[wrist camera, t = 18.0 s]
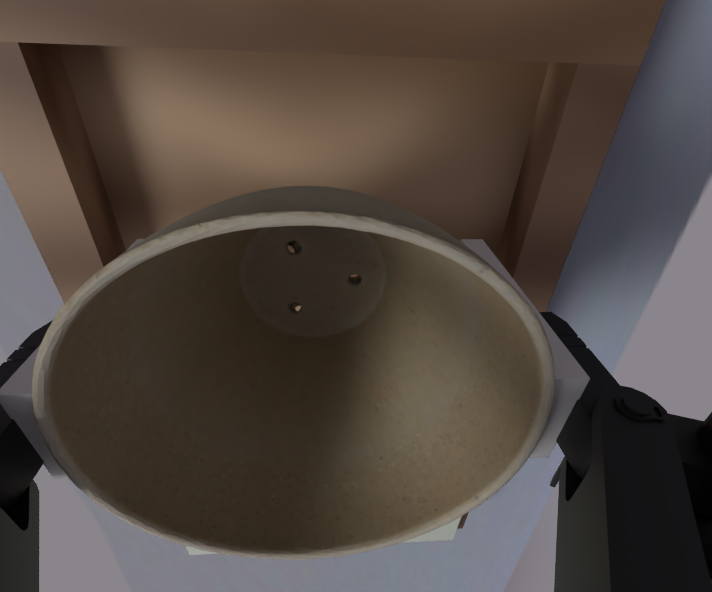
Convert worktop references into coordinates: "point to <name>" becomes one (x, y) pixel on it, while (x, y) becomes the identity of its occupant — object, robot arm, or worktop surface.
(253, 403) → the flower pot
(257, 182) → the wooden box
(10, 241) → the worktop surface
